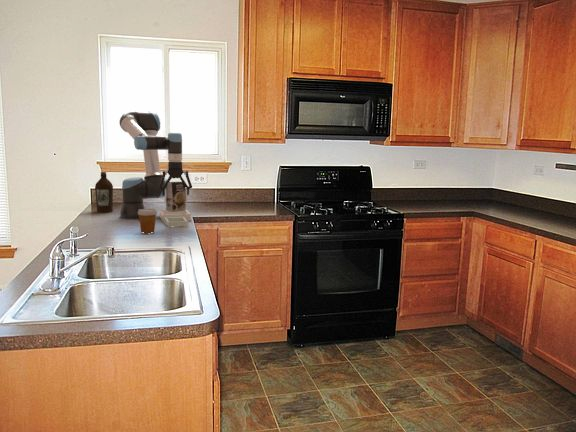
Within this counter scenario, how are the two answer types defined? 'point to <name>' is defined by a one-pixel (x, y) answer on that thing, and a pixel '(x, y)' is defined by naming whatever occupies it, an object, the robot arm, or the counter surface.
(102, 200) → the olive oil
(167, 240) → the counter surface
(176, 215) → the plastic food container
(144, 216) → the glass of beer
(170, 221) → the tray
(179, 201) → the coffee box
